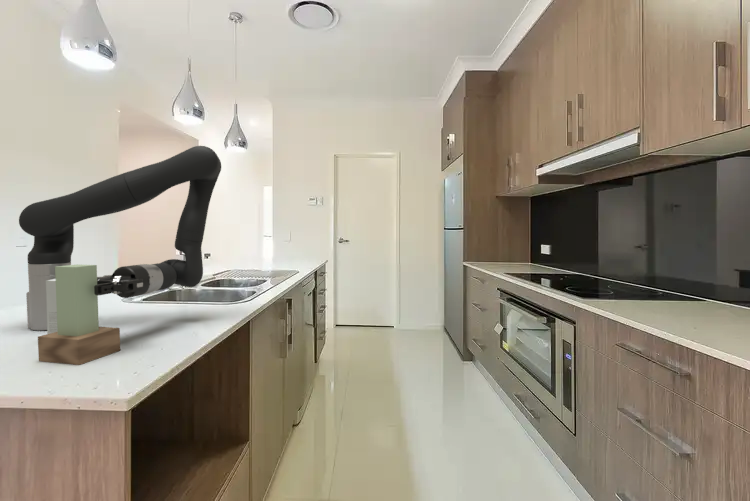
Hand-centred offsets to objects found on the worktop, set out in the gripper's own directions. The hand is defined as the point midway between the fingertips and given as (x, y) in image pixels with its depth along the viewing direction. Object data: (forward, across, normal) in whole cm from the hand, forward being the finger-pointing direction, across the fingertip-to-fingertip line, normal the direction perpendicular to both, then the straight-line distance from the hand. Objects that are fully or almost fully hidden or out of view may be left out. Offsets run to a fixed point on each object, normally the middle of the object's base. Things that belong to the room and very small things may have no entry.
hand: (79, 289), depth 90 cm
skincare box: (-11, -15, +14) cm, 23 cm away
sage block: (0, 0, +9) cm, 9 cm away
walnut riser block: (0, 0, +14) cm, 14 cm away
